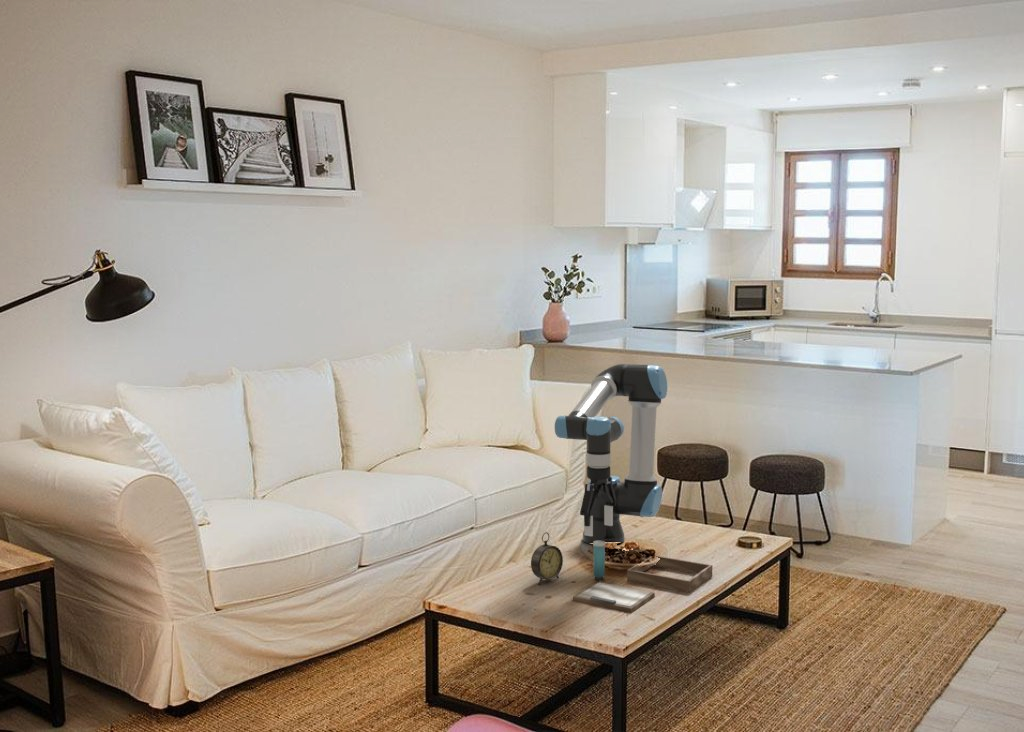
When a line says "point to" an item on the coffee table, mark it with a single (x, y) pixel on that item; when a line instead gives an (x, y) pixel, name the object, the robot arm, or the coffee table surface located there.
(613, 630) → the coffee table surface
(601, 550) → the cylinder
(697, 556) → the coffee table surface
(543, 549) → the alarm clock
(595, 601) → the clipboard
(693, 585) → the gray brown tray
